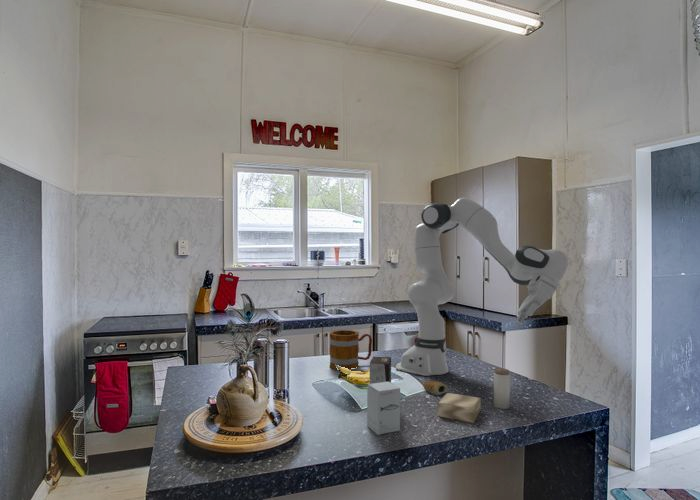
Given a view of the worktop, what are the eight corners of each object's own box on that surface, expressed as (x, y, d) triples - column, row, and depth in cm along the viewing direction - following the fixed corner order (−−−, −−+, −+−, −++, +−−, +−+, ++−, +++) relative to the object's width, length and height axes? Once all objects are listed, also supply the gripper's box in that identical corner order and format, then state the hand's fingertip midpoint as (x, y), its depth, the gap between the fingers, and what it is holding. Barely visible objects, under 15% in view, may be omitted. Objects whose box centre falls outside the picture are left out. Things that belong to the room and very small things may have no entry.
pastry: (418, 389, 160) (418, 378, 160) (432, 386, 164) (432, 376, 164) (435, 396, 152) (435, 385, 152) (449, 393, 156) (449, 382, 156)
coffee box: (388, 414, 136) (388, 363, 135) (368, 412, 137) (368, 362, 137) (391, 404, 144) (391, 356, 144) (373, 402, 146) (373, 355, 146)
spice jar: (492, 407, 142) (492, 371, 142) (494, 402, 146) (495, 367, 146) (508, 409, 139) (509, 373, 139) (510, 404, 144) (511, 369, 144)
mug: (333, 371, 182) (333, 336, 182) (326, 363, 195) (326, 330, 195) (376, 368, 187) (376, 334, 187) (367, 360, 200) (367, 328, 200)
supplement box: (378, 435, 120) (378, 391, 120) (366, 425, 127) (366, 383, 127) (400, 431, 123) (400, 387, 123) (388, 421, 130) (388, 380, 130)
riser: (437, 416, 134) (437, 402, 134) (447, 404, 144) (447, 392, 144) (473, 422, 129) (473, 408, 129) (480, 410, 139) (480, 397, 139)
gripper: (523, 293, 163) (506, 322, 158) (543, 272, 145) (525, 304, 140) (538, 302, 161) (522, 331, 157) (561, 282, 143) (543, 315, 138)
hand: (523, 318), depth 148 cm, fingers open, 8 cm apart
